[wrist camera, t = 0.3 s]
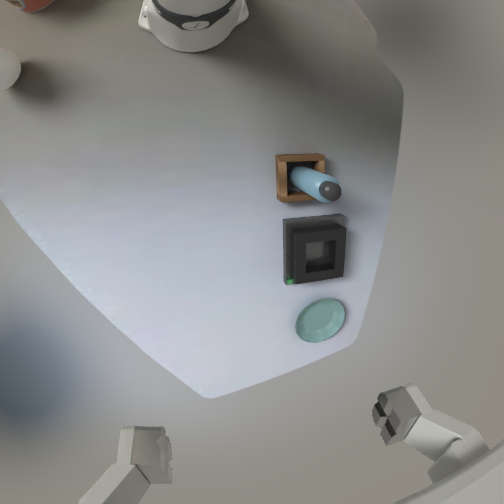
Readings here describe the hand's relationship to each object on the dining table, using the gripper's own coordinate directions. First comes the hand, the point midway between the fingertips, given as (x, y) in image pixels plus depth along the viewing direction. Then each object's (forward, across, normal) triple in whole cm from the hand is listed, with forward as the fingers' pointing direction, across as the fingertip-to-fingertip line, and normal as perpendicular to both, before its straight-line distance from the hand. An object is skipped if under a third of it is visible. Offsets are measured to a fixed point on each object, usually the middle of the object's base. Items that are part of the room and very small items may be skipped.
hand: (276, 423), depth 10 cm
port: (+47, -18, +16) cm, 53 cm away
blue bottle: (+48, -15, +1) cm, 50 cm away
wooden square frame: (+48, -15, +1) cm, 50 cm away
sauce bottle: (+47, +38, -25) cm, 65 cm away
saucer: (+47, -21, +33) cm, 61 cm away
